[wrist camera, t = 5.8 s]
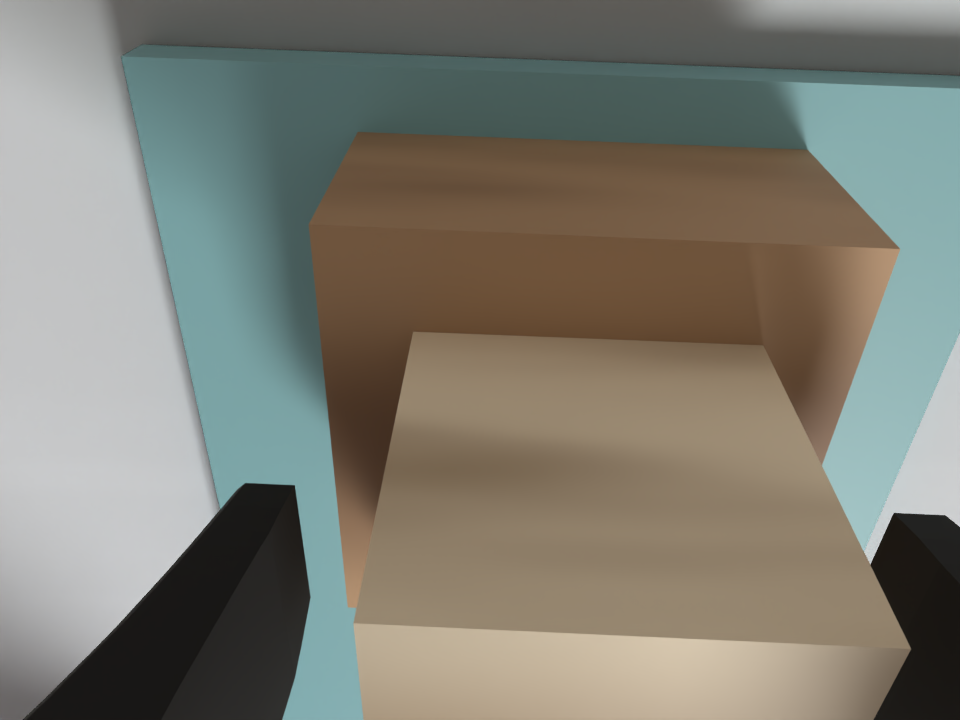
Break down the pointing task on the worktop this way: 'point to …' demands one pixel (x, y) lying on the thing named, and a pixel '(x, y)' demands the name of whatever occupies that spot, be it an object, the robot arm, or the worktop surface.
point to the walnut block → (580, 270)
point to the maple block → (612, 543)
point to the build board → (505, 114)
